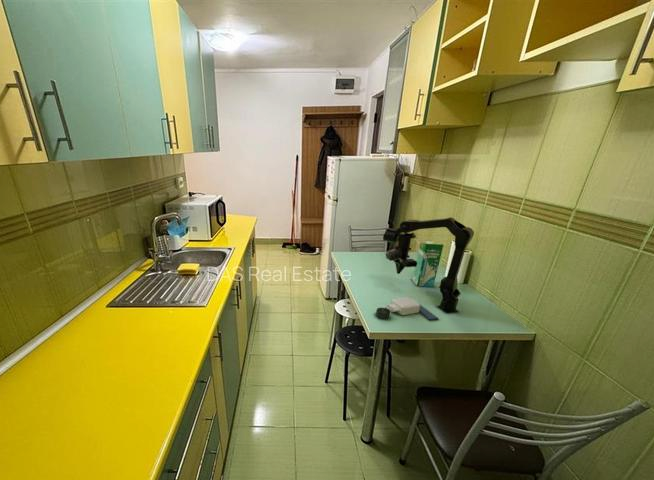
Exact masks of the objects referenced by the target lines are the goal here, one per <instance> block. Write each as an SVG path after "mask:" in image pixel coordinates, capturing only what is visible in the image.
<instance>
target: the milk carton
mask: <svg viewBox="0 0 654 480" xmlns="http://www.w3.org/2000/svg"><path fill="white" fill-rule="evenodd" d="M443 249H444V244H443V243H435V241H431V240H429V241H428V240H426V243H425V242H419V247H418V251H417V256H416V259H415V261H417V266H416V267H414V270H413V273H412V274H413V275H412V279H411V280H412V282H413V283H414V285H415V286H416V287H428V288H429V287H430V288H433V287H434V285H435V282H436V278H437V274H438V269H439V265H440V261H441V257H442V253H443Z"/></svg>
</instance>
